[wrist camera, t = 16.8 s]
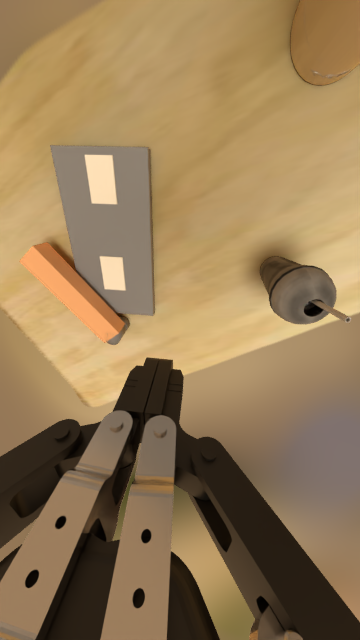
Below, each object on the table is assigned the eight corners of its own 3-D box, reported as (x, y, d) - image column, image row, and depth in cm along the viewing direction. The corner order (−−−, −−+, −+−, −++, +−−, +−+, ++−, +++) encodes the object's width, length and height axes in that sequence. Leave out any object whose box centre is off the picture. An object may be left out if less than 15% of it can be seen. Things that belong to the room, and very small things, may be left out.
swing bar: (130, 329, 42) (124, 338, 39) (116, 338, 44) (110, 348, 41) (47, 242, 35) (32, 245, 32) (34, 256, 37) (19, 261, 34)
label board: (56, 147, 31) (46, 144, 29) (150, 149, 30) (146, 146, 28) (91, 325, 46) (86, 331, 44) (155, 331, 45) (153, 336, 43)
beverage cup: (243, 277, 38) (277, 342, 20) (269, 239, 34) (337, 276, 17) (276, 296, 39) (337, 372, 21) (305, 260, 35) (406, 316, 18)
